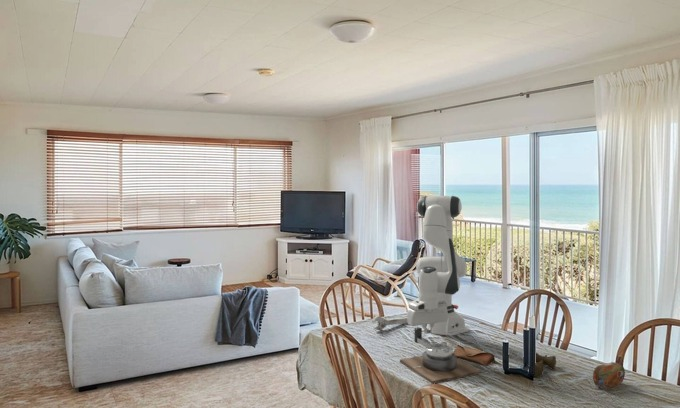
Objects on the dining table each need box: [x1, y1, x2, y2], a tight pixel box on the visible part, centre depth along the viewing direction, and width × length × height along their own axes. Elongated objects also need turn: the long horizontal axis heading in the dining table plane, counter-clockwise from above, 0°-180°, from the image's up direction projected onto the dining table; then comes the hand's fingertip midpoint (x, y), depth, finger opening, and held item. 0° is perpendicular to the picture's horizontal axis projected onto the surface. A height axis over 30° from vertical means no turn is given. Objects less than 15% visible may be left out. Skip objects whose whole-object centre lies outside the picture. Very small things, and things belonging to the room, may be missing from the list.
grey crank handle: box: [413, 327, 454, 360], centre depth 205 cm, size 23×11×7 cm, turn 24°
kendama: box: [535, 352, 557, 378], centre depth 198 cm, size 6×10×20 cm
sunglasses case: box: [453, 344, 496, 367], centre depth 210 cm, size 18×7×7 cm, turn 50°
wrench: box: [371, 315, 408, 332], centre depth 254 cm, size 8×2×30 cm
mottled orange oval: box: [592, 361, 626, 390], centre depth 182 cm, size 15×3×8 cm, turn 114°
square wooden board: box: [399, 351, 482, 384], centre depth 199 cm, size 24×24×5 cm
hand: (427, 333), depth 216 cm, fingers closed
